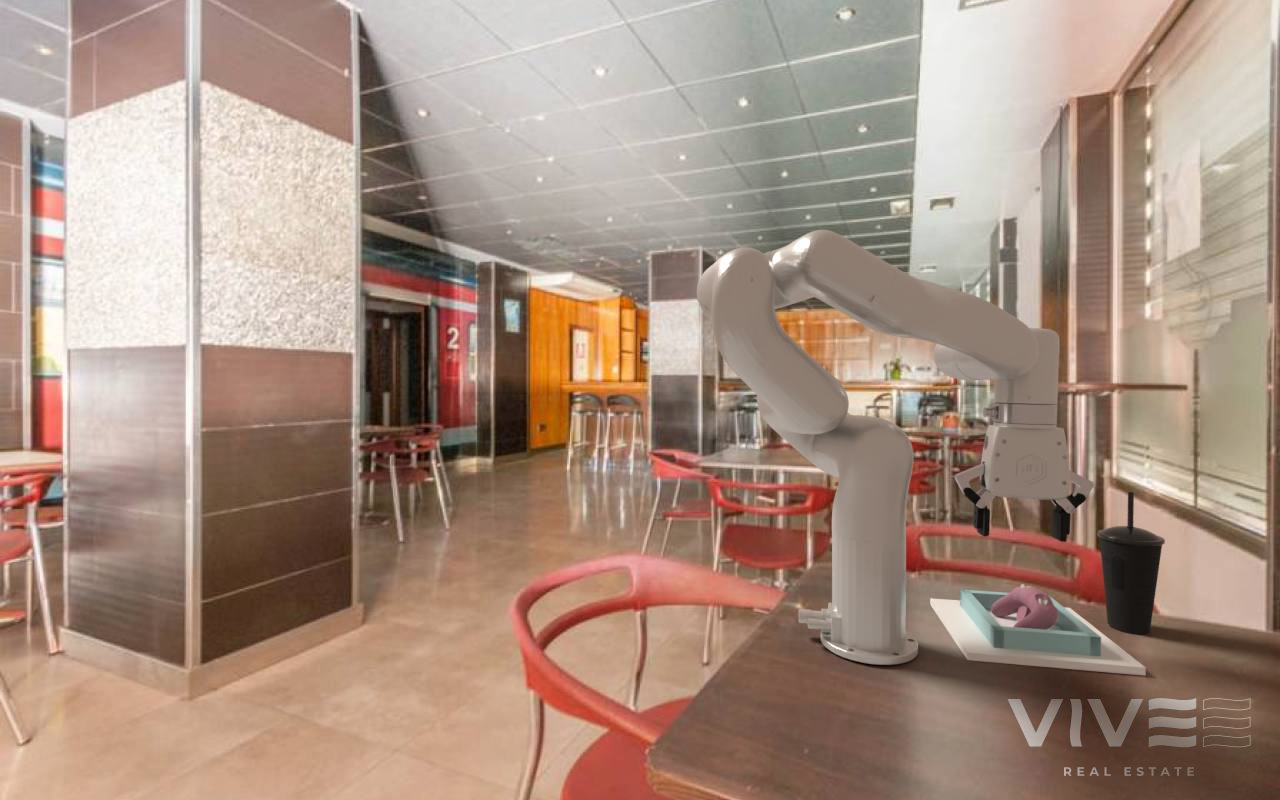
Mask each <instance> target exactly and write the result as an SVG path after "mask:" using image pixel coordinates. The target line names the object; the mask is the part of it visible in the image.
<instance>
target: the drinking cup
mask: <svg viewBox="0 0 1280 800" xmlns="http://www.w3.org/2000/svg"><path fill="white" fill-rule="evenodd" d="M1134 497H1135V493H1134V491H1128V492H1127V519H1126V520H1127V521H1126V522H1127V523H1126V525H1117V526H1111V527H1107V528H1104V529H1099V530H1097V531H1096V532H1097V534H1096V535H1097V537H1099V545H1100V557H1101V566H1102V574H1103V575H1102V577H1103V578H1102V579H1103V586H1104V587H1103V588H1104V597H1105V609H1106V620H1107V621H1106V622H1107V625H1108V624H1109V625H1110V626H1112V627H1113V629H1114V628H1115V629H1114V630H1117V629H1118V630H1117V631H1119V630H1121V631H1120V632H1123V631H1124V633H1127V632H1128V634H1132V633H1133V634H1134V635H1147V634H1150V632H1151V627H1152V626H1151V625H1152V620H1153V619H1152V618H1153V612H1154V605H1155V599H1156V593H1157V592H1156V591H1157V585H1158V584H1157V583H1158V577H1159V576H1158V575H1159V570H1160V562H1161V554H1162V549H1163V546H1164V545H1165V544H1166V541H1165V538H1164V537H1162V536H1160V535H1158V534H1155V533H1153V532H1152V531H1149V530H1146V529H1144V528H1139V527H1135V526H1134V515H1135V514H1134V507H1135V506H1134V505H1135V504H1134V502H1135V498H1134ZM1109 625H1108V626H1109ZM1110 626H1109V627H1110ZM1112 627H1111V628H1112ZM1133 634H1132V635H1133Z"/></svg>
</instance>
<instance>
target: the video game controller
mask: <svg viewBox="0 0 1280 800" xmlns="http://www.w3.org/2000/svg"><path fill="white" fill-rule="evenodd" d="M1008 593H1009V594H1007V595H1005V596H1004V597H1002V598H1000V599H999V600H997V601H996V602H994V604H993V605H992V607H991V612H992V613H993V615H995V616H997V617H1003V616H1008V615H1011V614H1014V613H1016V612H1018V613H1017V616H1016V620H1017V621H1018V622H1017V623H1016V624H1015V625H1014V627H1018V628H1032V629H1045V630H1046V629H1048V628H1050V627H1052V626H1053V625H1054V624H1055V623H1056V622H1057V617H1058V610H1057V608H1056V607H1055V606H1054V605H1053V602H1052V600H1051V598H1050V597H1051V596H1050V595H1049V594H1048V593H1046V592H1045V591H1043V590H1041V589H1039V588H1037V587H1034V586H1026V585H1025V584H1024V583H1022V584H1021V585H1020V586H1016V587H1015V588H1014V589H1012V590H1011V591H1010V592H1008ZM1048 595H1049V596H1050V597H1049V596H1048Z"/></svg>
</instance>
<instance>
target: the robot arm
mask: <svg viewBox="0 0 1280 800" xmlns="http://www.w3.org/2000/svg"><path fill="white" fill-rule="evenodd" d="M812 298H815V299H818V300H820V301H821V302H823V303H824V304H826V305H829V306H830V307H832V308H834V309H836V310H837V311H838V312H841V313H842V314H844V315H846V316H848V317H849V318H851V319H853V320H855V321H856V322H858V323H860V324H861V325H863V326H865V327H866V328H867V329H870V330H872V331H873V332H874V331H875V332H878V333H880V334H885V335H888V336H891V337H892V336H893V337H898V338H906V339H907V338H908V339H914V340H920V341H925V342H929V343H933V344H935V346H934V350H933V360H934V364H935V365H936V367H937V368H938V370H939V371H940V372H941V373H943V374H944V375H946V376H947V377H949V378H952V379H954V380H955V379H956V380H962V381H982V380H983V381H984V380H992V381H993V380H994V399H993V400H994V401H993V403H992V405H991V406H989V407H984V408H983V410H982V416H983V417H984V418H990V419H991V422H993V424H989V425H988V426H987V430H986V434H985V438H984V441H983V442H984V443H983V448H982V455H981V461H980V464H977V465H974V466H973V467H970V468H968V469H965V470H963V471H961V472H958V473H956V474H955V475H954V480H955V482H956V483H957V485H958V487H959V489H960V490H961V493H962V494H963V495H964V496H965V497H966V499H968V500H969V501H970V503H971V504H973V527H974V529H975V530H976V532H977V533H978V534H979V535H981V536H982V537H989V536H990V525H991V524H990V522H991V521H990V520H991V510H990V508H988V504H990V503H991V502H992V501H993V500H994V499H995V498H996V497H998V498H1009V499H1026V500H1045V501H1049V500H1050V501H1051V502H1052V504H1053V505H1054V506H1055V508H1053V509H1052V511H1051V523H1050V526H1051V528H1050V535H1051V537H1052V538H1054V539H1055V540H1058V541H1059V542H1061V543H1066V542H1067V538H1068V536H1069V535H1070V533H1071V514H1074V513H1075V511H1076V508H1078V507H1080V506H1081V505H1082V504H1083V503H1084V502H1085V501H1086V500H1087V496H1089V494H1090V493H1091V492H1092V490H1093V488H1094V487H1095V483H1094V482H1093V481H1091V480H1089V479H1087V478H1086V477H1083V476H1082V475H1080V474H1078V473H1076V472H1074V471H1072V470H1070V458H1069V451H1068V450H1069V449H1068V444H1067V438H1066V433H1065V429H1064V427H1057V425H1058V424H1057V421H1058V420H1057V418H1058V398H1059V397H1058V395H1059V371H1060V370H1059V368H1060V367H1059V366H1060V337H1059V333H1057V332H1056V331H1055V330H1053V329H1050V328H1043V327H1042V328H1041V327H1039V328H1036V327H1033V328H1031V327H1029V326H1028V325H1027V324H1026V323H1025V322H1023V321H1022V320H1021V319H1019V318H1018V317H1016V316H1014V315H1013V314H1010V313H1009V312H1008V311H1005V310H1004V309H1002V308H1001V307H999V306H998V305H996V304H994V303H992V302H990V301H988V300H986V299H983V298H981V297H979V296H976V295H973V294H971V293H967V292H966V291H961V290H958V289H955V288H951V287H948V286H944V285H941V284H939V283H935V282H932V281H928V280H924V279H920V278H917V277H915V276H912V275H910V274H908V273H906V272H905V271H903V270H901V269H900V268H898V267H896V266H895V265H893V264H891V263H888V262H887V261H885V260H884V259H882V258H880V256H879V257H878V256H877V255H875V254H874V253H872V252H870V251H869V250H867V249H865V248H863V246H860V245H858V244H857V243H855V242H854V241H851V239H848V238H846V237H845V236H843V235H841V234H839V233H837V232H835V231H832V230H830V229H829V230H827V229H818V230H817V229H816V230H813V231H810V232H808V233H806V234H804V235H802V236H800V237H799V238H797V239H795V240H794V241H792V242H791V243H789V244H787V245H785V246H783V247H779V248H778V249H773V250H771V251H767V252H764V253H763V252H762V251H761V250H758V249H756V248H753V247H750V246H749V247H745V246H744V247H738V248H735V249H732V250H729V251H728V252H727V253H725V254H723V255H721V257H720V258H718V259H717V260H716V261H715V262H714V263H713V264H711V265H710V266H709V267H708V268H707V269H705V271H704V272H703V273H702V275H700V278H699V280H698V282H697V286H696V299H697V302H698V305H699V307H700V308H701V310H702V311H703V312H704V313H705V314H706V315H707V316H709V317H710V318H711V324H712V325H711V326H712V332H713V336H714V339H715V343H716V346H717V349H718V352H720V355H721V357H722V358H723V361H724V362H725V363H726V364H727V366H728V367H729V369H731V370H732V372H733V373H734V374H735V375H736V376H737V377H738V378H739V379H740V380H742V382H743V383H745V385H746V386H748V387H749V389H750V390H751V391H753V392H754V394H756V404H757V408H758V412H759V413H760V415H761V417H762V419H763V420H764V421H765V423H767V425H768V426H769V427H770V428H771V429H772V430H773V431H775V433H777V434H778V435H779V437H781V438H782V439H783V440H784V441H786V442H787V443H788V444H789V445H790V446H791V447H793V448H794V449H795V450H796V451H797V452H798V453H799V454H801V455H802V456H803V457H804V458H806V459H807V460H808V461H809V462H810V463H811V464H813V465H814V466H815V467H816V468H818V469H819V470H820V471H822V472H824V473H825V474H828V475H830V476H833V477H836V478H838V483H837V485H836V486H837V487H836V491H835V495H834V498H833V503H832V510H831V513H832V514H831V548H832V549H831V558H832V559H831V566H832V567H831V574H832V575H831V602H828V604H827V605H828V607H827V608H821V609H820V610H812V609H808V608H806V609H805V608H798V623H799V624H807V629H811V630H820V641H821V644H822V645H823V646H824V648H826V649H828V650H829V651H830V652H832V653H833V654H835V655H837V656H839V657H841V658H844V659H847V660H850V661H853V662H859V663H863V664H868V665H878V666H891V665H893V666H894V665H899V664H905V663H908V662H910V661H912V660H914V659H915V658H916V657H917V655H918V654H919V644H918V641H917V639H916V638H915V637H914V636H913V635H911V633H909V632H907V629H906V628H907V627H906V622H907V621H906V620H907V619H906V615H907V614H906V612H907V611H906V608H907V605H906V604H907V603H906V602H907V601H906V600H907V599H906V598H907V591H906V590H907V587H906V585H907V578H906V577H907V535H906V534H907V532H906V531H907V528H906V527H907V504H908V502H907V501H908V495H909V489H910V483H911V479H912V473H913V468H914V456H915V455H914V454H915V453H914V449H913V445H912V443H911V440H910V438H909V436H908V434H906V432H905V431H904V430H903V429H902V428H901V427H900V426H898V425H897V424H896V423H895V422H892V421H890V420H887V419H885V418H881V417H879V416H878V417H877V416H869V415H860V414H850V413H849V412H848V411H849V402H850V401H849V398H848V394H847V391H846V389H845V387H844V386H843V384H842V383H841V382H840V381H839V380H838V379H837V377H835V375H834V374H832V373H831V372H830V371H828V369H826V368H825V366H824V367H823V366H822V365H821V364H820V363H819V362H818V361H817V360H816V359H815V358H814V357H812V355H810V353H808V352H807V351H806V350H805V349H803V348H802V347H801V346H800V345H799V344H798V343H797V342H796V341H795V340H794V339H793V338H792V337H791V336H790V335H789V334H788V332H787V331H786V330H785V329H784V328H783V327H782V325H781V324H780V321H779V320H778V317H777V313H776V310H778V309H780V308H784V307H788V306H790V305H793V304H797V303H800V302H803V301H806V300H810V299H812ZM978 477H979V484H980V489H979V490H978V491H977V492H976V491H975V490H974V489H972V487H971V484H970V481H971V480H973V479H976V478H978ZM1070 483H1073V484H1075V489H1074V491H1073V492H1071V493H1070V487H1071V485H1070Z"/></svg>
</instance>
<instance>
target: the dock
mask: <svg viewBox="0 0 1280 800" xmlns="http://www.w3.org/2000/svg"><path fill="white" fill-rule="evenodd" d="M1009 593H1010V592H1003V591H1001V592H1000V591H987V590H986V591H985V590H972V589H971V590H970V589H960V590H959V600H958V599H943V598H932V597H931V598H930V606H931V607H932V609H933V611H934V612H935V614H936V615H937V617H938V618H939V620H940V621H941V623H942V624H943V626H944V627H945V629H946V630H947V633H949V635H950V637H951V638H952V639H953V640H954V642H955V643H956V645H957V646H958V649H959V650H960V651H961V653H962V654H963V655H964V656H963V657H965V658H966V660H967V661H973V662H984V663H985V662H986V663H995V664H997V663H998V664H1007V665H1008V664H1009V665H1018V666H1019V665H1020V666H1032V667H1040V668H1041V667H1043V668H1054V669H1065V670H1078V671H1085V672H1086V671H1088V672H1098V673H1099V672H1101V673H1110V674H1124V675H1134V676H1135V675H1136V676H1145V677H1146V676H1147V674H1146V671H1147V668H1146V666H1145V665H1143V664H1142V663H1140V662H1139V661H1138V660H1137V659H1135V658H1134V657H1133V656H1132V655H1130V654H1129V653H1128V652H1126V651H1125V650H1124V649H1123V648H1122V647H1120V646H1119V645H1118V644H1116V643H1115V642H1114V641H1112V640H1111V639H1110V638H1109V637H1107V636H1106V635H1105V634H1104V633H1103V632H1101V631H1100V630H1099V629H1097V628H1096V627H1095V626H1094V625H1092V624H1091V623H1090V622H1089V621H1087V620H1086V619H1084V618H1083V617H1082V616H1081V615H1079V614H1078V612H1076V611H1074V610H1073V609H1072V608H1071V607H1066V606H1065V607H1064V606H1063V605H1061V604H1060V603H1059V602H1058V601H1057V600H1055V599H1054V598H1053V597H1051V596H1050V595H1049V594H1047V595H1048V596H1049V597H1050V598H1051V600H1052V602H1053V605H1054V606H1055V607H1056V608H1057V610H1058V617H1057V622H1056V623H1055V624H1054V625H1053V626H1052V627H1050V628H1048V629H1046V630H1045V629H1032V628H1018V627H1014V625H1015V624H1016V623H1017V622H1018V621H1017V620H1016V616H1017V613H1018V612H1016V613H1014V614H1011V615H1008V616H1003V617H997V616H995V615H993V613H992V612H991V607H992V605H993V604H994V602H996V601H997V600H999V599H1000V598H1002V597H1004V596H1005V595H1007V594H1009Z"/></svg>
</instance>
